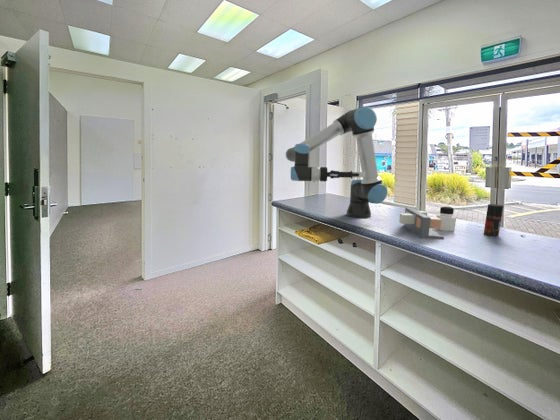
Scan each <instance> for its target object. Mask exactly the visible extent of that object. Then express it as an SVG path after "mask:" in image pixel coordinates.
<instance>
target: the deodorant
mask: <svg viewBox="0 0 560 420" xmlns="http://www.w3.org/2000/svg"><path fill="white" fill-rule="evenodd" d="M503 209H504V205H502V204H498V203H497V204H496V203H495V204H494V203H488V204H487V210H486V215H485V216H486V217H485V222H484V228H483V229H484V230H483V235H484V236H486V235H487V237H491V236H498V237H499V235H500V229H501V223H502V216H503V212H504V211H503Z"/></svg>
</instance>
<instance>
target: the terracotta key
mask: <svg viewBox="0 0 560 420" xmlns="http://www.w3.org/2000/svg"><path fill="white" fill-rule="evenodd" d="M429 217H430V218H431V219H430V227H429V228H430V229H432V230H433V229H434V230H435V229H437V230H439V229H440V228H441V220H442V219H439V218H437V216H435V217H433V216H429ZM421 224H422V218H421V217H417V222H416V226H417V227H419V228H421Z"/></svg>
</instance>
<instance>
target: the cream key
mask: <svg viewBox="0 0 560 420" xmlns="http://www.w3.org/2000/svg"><path fill="white" fill-rule="evenodd" d="M415 217H416V215H415V214H409V213H405V212H404V213H401V212H400V213H399V223H400V224H402V225H404V224H415Z"/></svg>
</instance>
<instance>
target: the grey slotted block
mask: <svg viewBox="0 0 560 420" xmlns="http://www.w3.org/2000/svg"><path fill="white" fill-rule="evenodd" d="M404 209H405V210H404V213H406V211H410V214H415V215H416V217H415V224H403V226H404V227H406V228H407V229H408V230H409V231H411V232H413V234H415V235H417V236H418V237H420V238H421V239H439V240H442V239H445V236H443V235H442V234H440V233H439V232H437V231H435V229H434V230H433V229H432V228H429V227H430V219H431V218H430V217H431V216H428V215H427V216H426V215H425V214H423V213H421V212H419V211H420V210H416V209H414V208H412V207H405V208H404ZM417 217H421V218H422V224H421V228H419V227H417V226H416V222H417Z"/></svg>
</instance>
